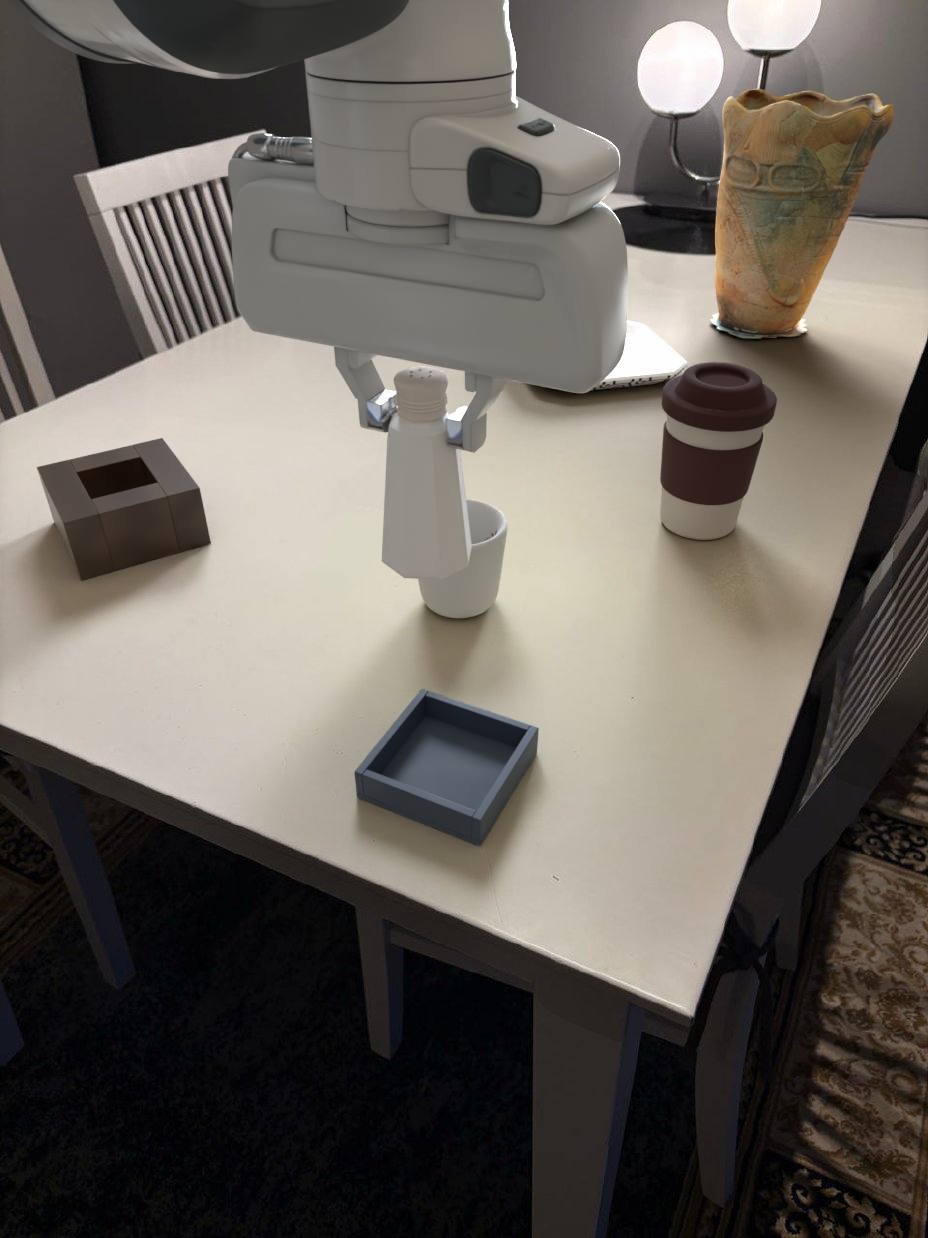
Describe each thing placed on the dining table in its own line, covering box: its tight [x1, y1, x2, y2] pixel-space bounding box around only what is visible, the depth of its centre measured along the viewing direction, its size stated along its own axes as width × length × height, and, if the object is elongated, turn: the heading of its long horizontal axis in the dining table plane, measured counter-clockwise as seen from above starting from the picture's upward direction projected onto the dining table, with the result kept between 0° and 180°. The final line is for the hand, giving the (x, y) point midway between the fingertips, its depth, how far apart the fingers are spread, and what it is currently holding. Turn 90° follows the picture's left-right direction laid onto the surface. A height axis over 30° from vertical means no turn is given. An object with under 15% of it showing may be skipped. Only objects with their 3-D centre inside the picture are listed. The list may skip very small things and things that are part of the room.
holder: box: [36, 437, 212, 581], centre depth 86 cm, size 12×12×6 cm
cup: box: [417, 498, 509, 619], centre depth 77 cm, size 11×8×8 cm
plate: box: [552, 320, 688, 393], centre depth 121 cm, size 21×21×2 cm
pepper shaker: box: [381, 365, 472, 580], centre depth 50 cm, size 5×5×11 cm
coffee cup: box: [659, 361, 778, 541], centre depth 84 cm, size 10×10×15 cm
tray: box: [354, 688, 540, 847], centre depth 62 cm, size 9×9×2 cm
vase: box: [709, 88, 895, 339], centre depth 124 cm, size 21×20×30 cm
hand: (423, 436), depth 48 cm, fingers closed on pepper shaker, 4 cm apart
